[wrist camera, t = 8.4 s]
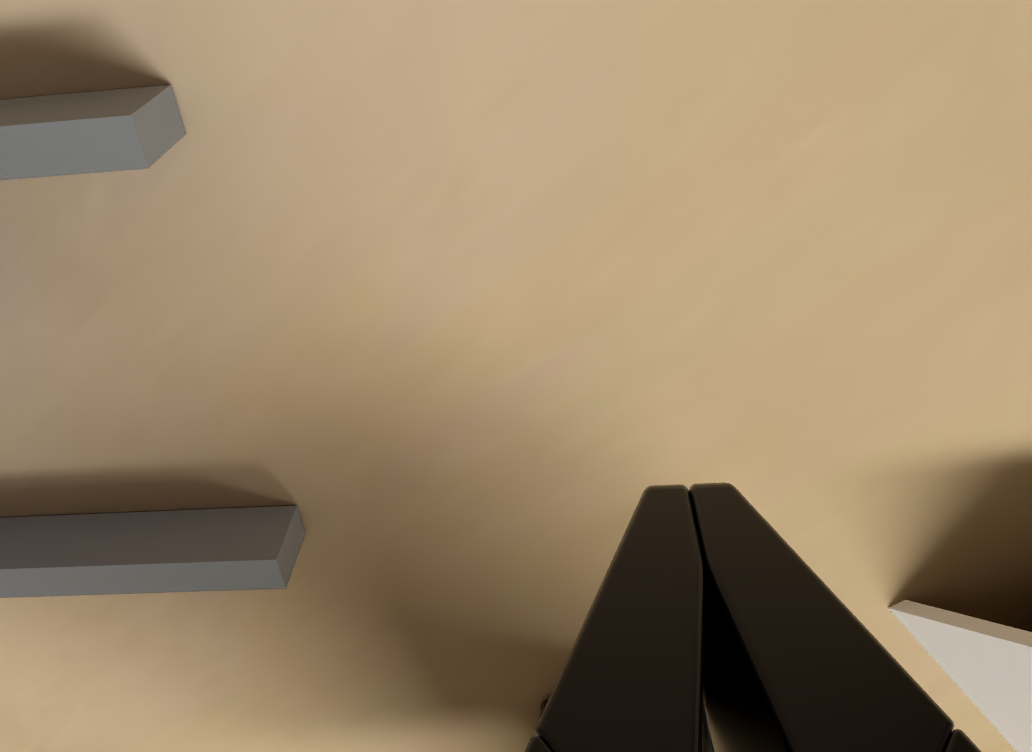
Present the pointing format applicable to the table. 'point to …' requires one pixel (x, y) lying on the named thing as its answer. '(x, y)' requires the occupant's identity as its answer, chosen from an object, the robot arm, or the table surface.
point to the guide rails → (132, 535)
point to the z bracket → (980, 664)
